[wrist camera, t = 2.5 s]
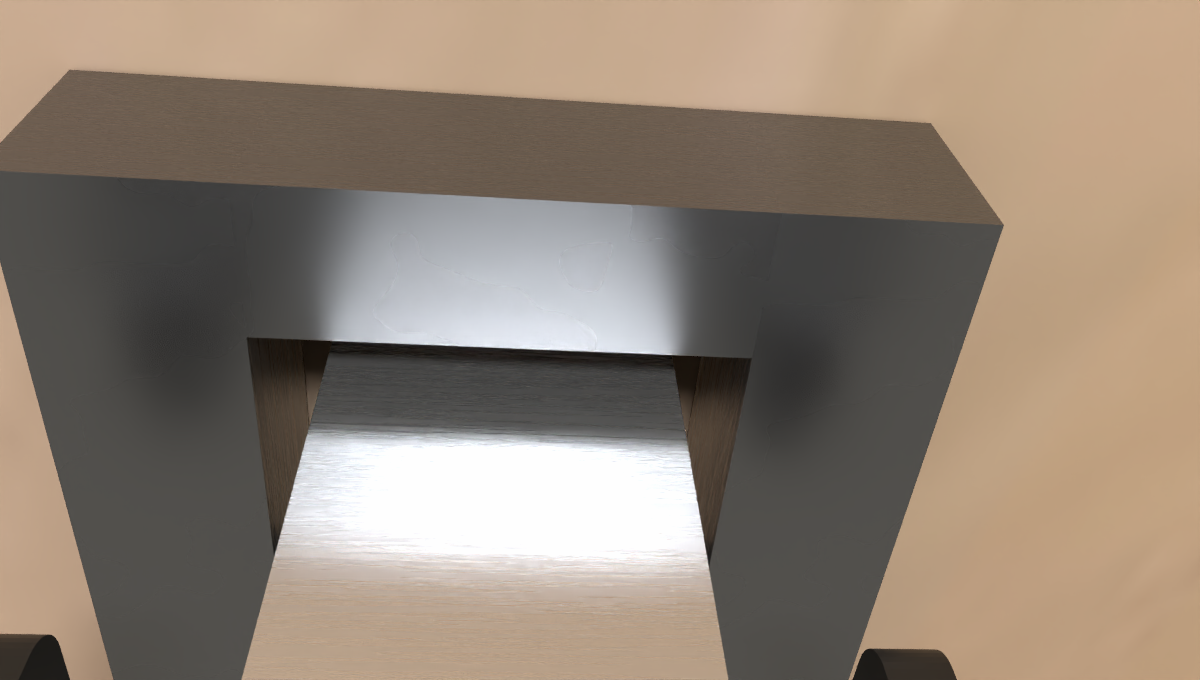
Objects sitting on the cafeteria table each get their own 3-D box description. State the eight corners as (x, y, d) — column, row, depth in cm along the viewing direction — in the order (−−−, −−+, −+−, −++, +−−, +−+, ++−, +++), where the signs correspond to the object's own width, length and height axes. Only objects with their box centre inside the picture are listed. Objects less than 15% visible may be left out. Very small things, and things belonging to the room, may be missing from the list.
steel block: (659, 285, 14) (790, 1040, 7) (629, 506, 17) (702, 1249, 9) (350, 270, 14) (143, 1050, 7) (363, 498, 16) (218, 1266, 9)
